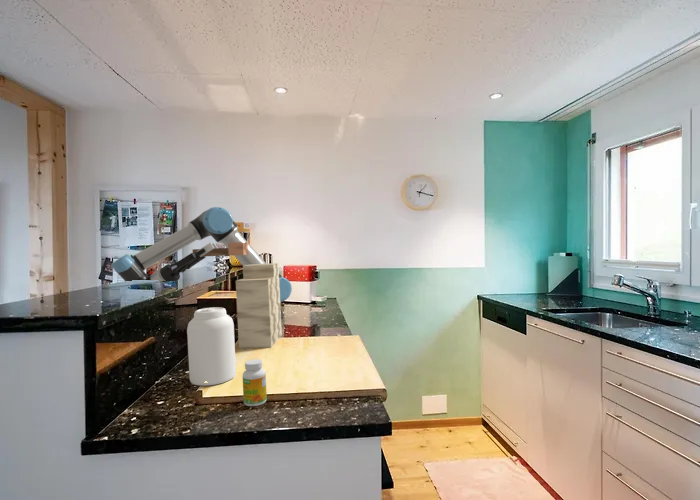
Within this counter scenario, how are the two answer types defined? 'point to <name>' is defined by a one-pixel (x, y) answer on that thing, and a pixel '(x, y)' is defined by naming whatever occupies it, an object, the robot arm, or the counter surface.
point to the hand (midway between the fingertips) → (214, 245)
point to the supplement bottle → (254, 383)
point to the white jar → (211, 347)
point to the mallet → (228, 250)
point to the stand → (259, 306)
